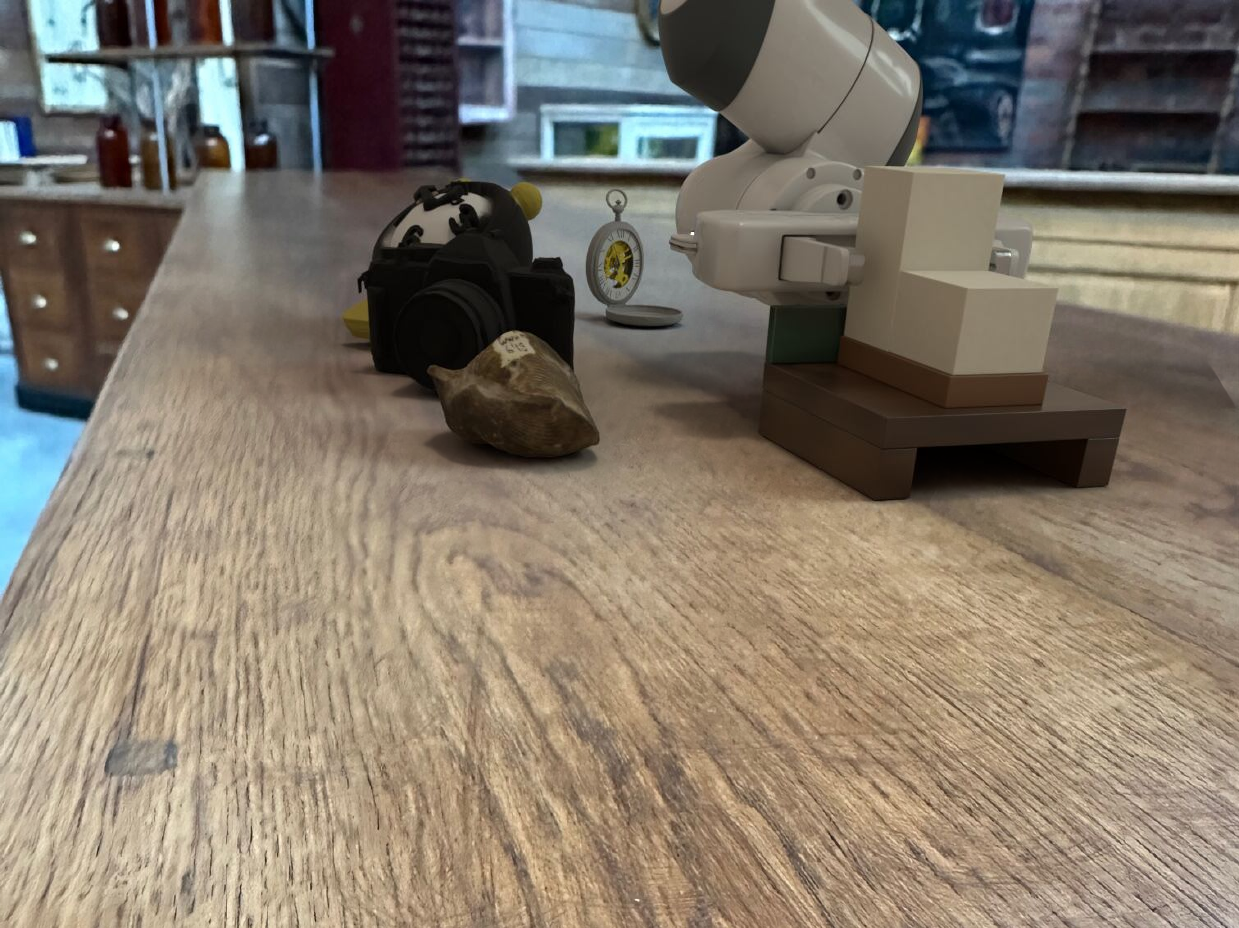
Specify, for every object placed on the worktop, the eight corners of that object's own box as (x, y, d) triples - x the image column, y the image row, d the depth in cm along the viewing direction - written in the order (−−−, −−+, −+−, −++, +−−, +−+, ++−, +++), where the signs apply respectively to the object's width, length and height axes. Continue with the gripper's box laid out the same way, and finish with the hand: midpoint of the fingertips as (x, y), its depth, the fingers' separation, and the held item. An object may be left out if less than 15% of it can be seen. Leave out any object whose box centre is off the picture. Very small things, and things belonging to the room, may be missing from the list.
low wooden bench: (757, 433, 71) (769, 304, 68) (962, 424, 76) (984, 302, 72) (874, 500, 60) (896, 351, 57) (1108, 485, 64) (1143, 345, 61)
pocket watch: (677, 331, 101) (685, 196, 96) (578, 325, 102) (580, 191, 97) (688, 317, 108) (696, 190, 103) (595, 310, 109) (598, 185, 104)
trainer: (836, 363, 70) (861, 165, 64) (925, 361, 71) (955, 168, 66) (944, 408, 60) (983, 181, 55) (1043, 404, 62) (1089, 183, 57)
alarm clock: (356, 377, 99) (358, 183, 97) (536, 387, 100) (541, 196, 98) (335, 333, 87) (337, 112, 85) (540, 345, 88) (545, 128, 87)
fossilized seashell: (390, 391, 66) (485, 465, 60) (451, 278, 64) (555, 343, 58) (487, 447, 72) (582, 519, 66) (546, 345, 70) (649, 410, 64)
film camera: (319, 385, 78) (306, 230, 73) (387, 360, 86) (379, 218, 81) (541, 409, 74) (542, 248, 70) (591, 380, 82) (594, 234, 78)
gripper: (661, 179, 71) (759, 199, 60) (962, 186, 77) (1101, 205, 66) (655, 295, 75) (747, 334, 63) (944, 293, 81) (1074, 328, 69)
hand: (931, 268), depth 65 cm, fingers open, 8 cm apart
